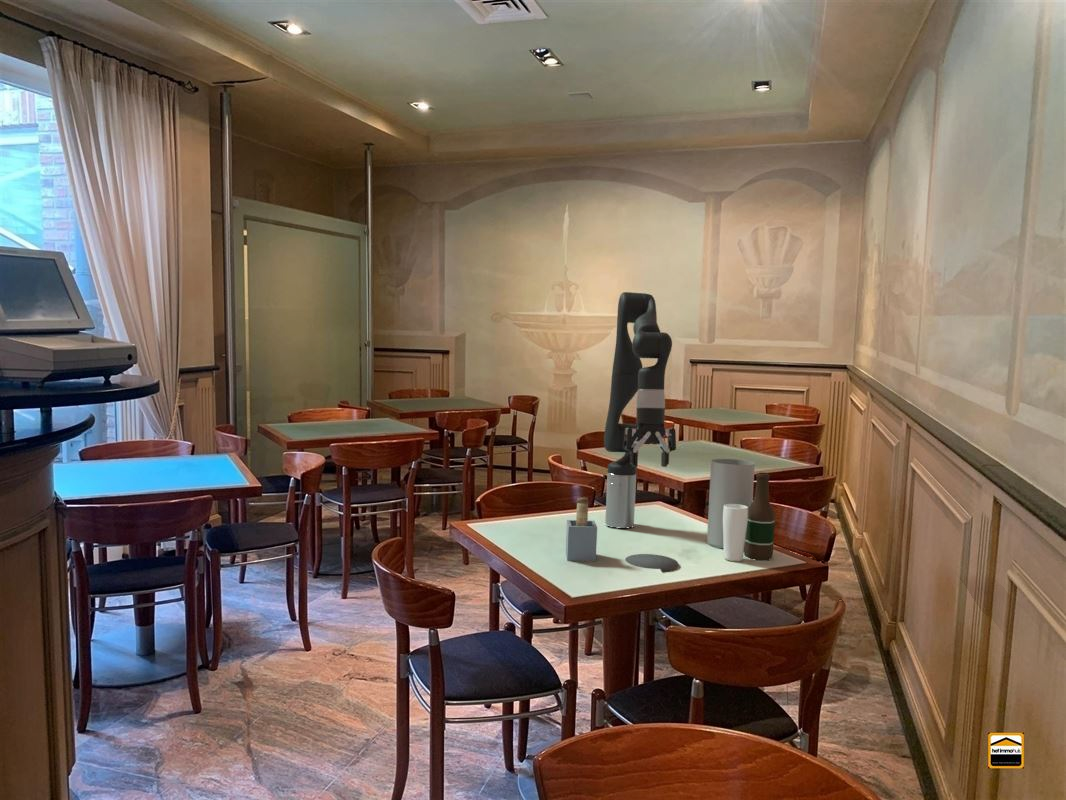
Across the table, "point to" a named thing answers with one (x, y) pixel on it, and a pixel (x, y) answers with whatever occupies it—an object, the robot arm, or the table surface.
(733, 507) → the drinking glass
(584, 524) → the beech dowel
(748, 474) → the cylinder vase
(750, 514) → the beer bottle
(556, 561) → the table surface
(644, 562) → the gray disc
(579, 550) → the deep cup
